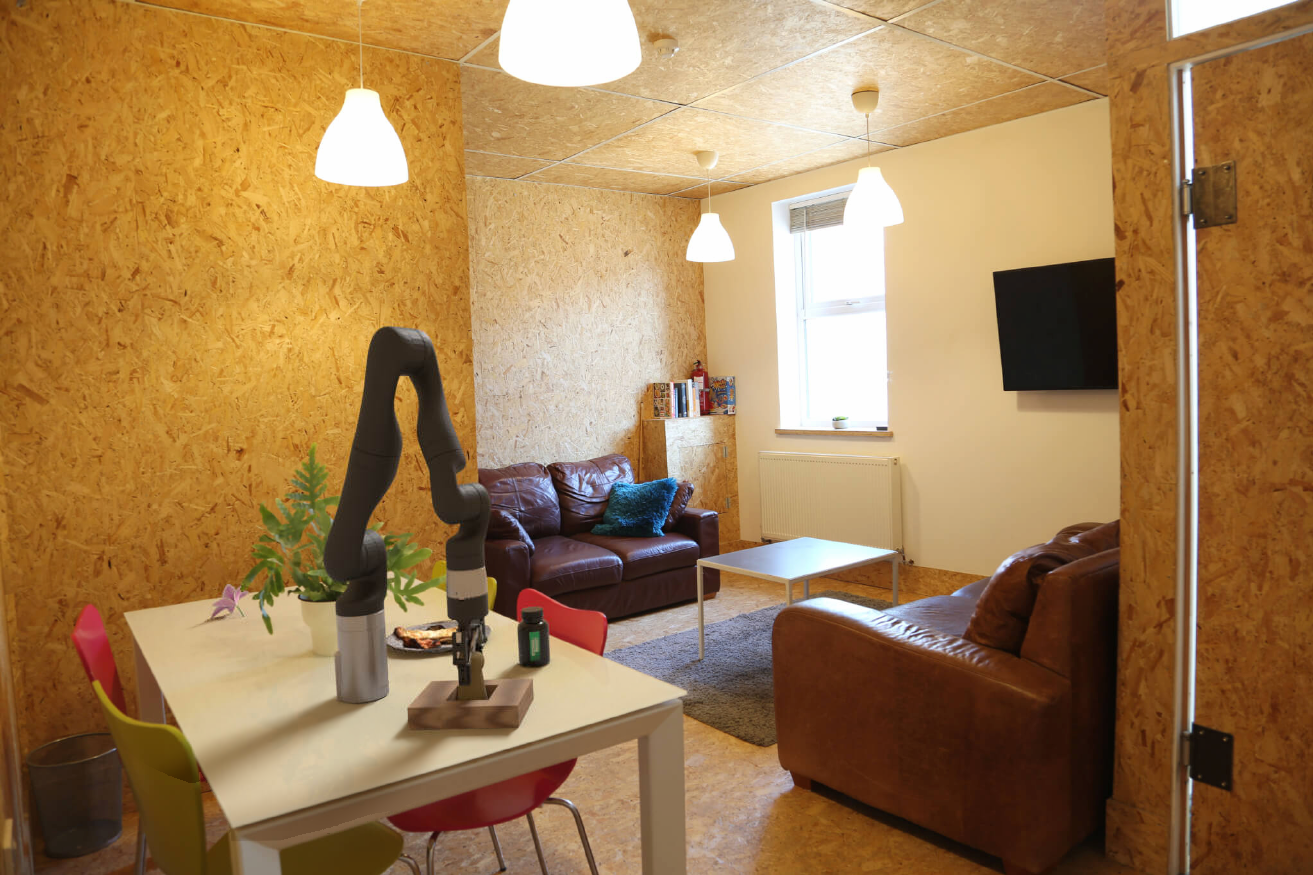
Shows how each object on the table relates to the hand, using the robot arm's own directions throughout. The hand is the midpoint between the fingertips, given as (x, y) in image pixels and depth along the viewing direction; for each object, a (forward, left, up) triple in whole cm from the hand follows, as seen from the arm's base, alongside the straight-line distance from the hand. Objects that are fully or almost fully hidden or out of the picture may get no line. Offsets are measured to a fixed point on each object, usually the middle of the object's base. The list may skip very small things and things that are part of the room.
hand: (471, 676), depth 159 cm
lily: (-90, +78, -7) cm, 119 cm away
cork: (0, 0, -7) cm, 7 cm away
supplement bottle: (+6, +29, -7) cm, 30 cm away
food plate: (-21, +47, -8) cm, 52 cm away
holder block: (0, 0, -7) cm, 7 cm away
